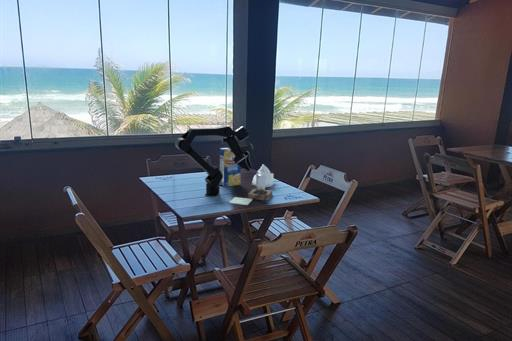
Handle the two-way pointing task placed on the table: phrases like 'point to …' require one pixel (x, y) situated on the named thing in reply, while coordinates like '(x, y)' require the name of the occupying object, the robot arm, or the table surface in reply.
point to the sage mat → (240, 201)
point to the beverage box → (229, 168)
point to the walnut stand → (260, 195)
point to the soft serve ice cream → (267, 179)
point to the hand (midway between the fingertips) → (250, 169)
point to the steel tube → (260, 184)
